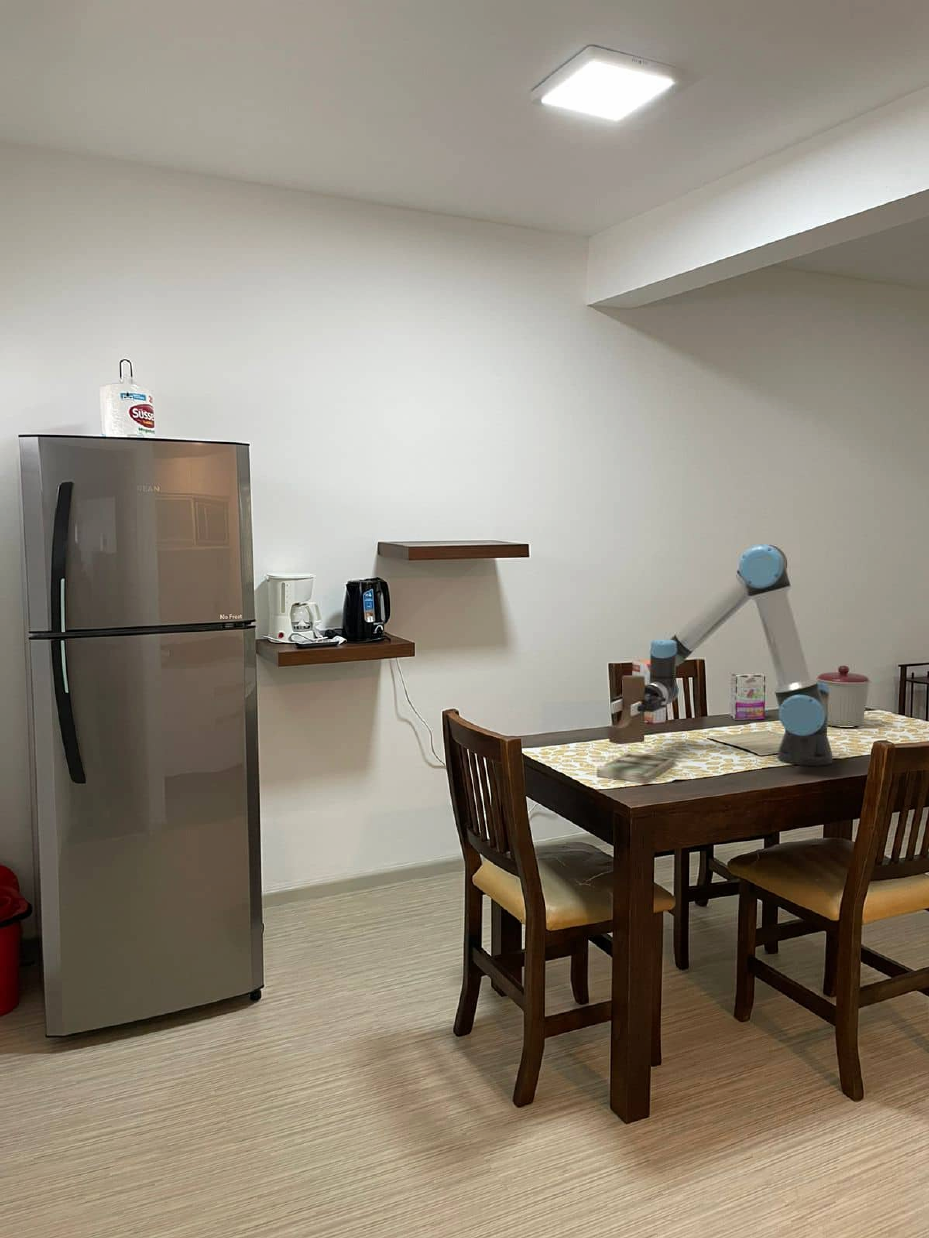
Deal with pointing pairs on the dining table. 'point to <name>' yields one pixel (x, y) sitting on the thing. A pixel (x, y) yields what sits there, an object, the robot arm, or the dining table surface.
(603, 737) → the dining table surface
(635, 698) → the wooden block
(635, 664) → the cracker box
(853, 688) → the canister
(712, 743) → the dining table surface
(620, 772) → the board
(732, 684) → the candy bar box
